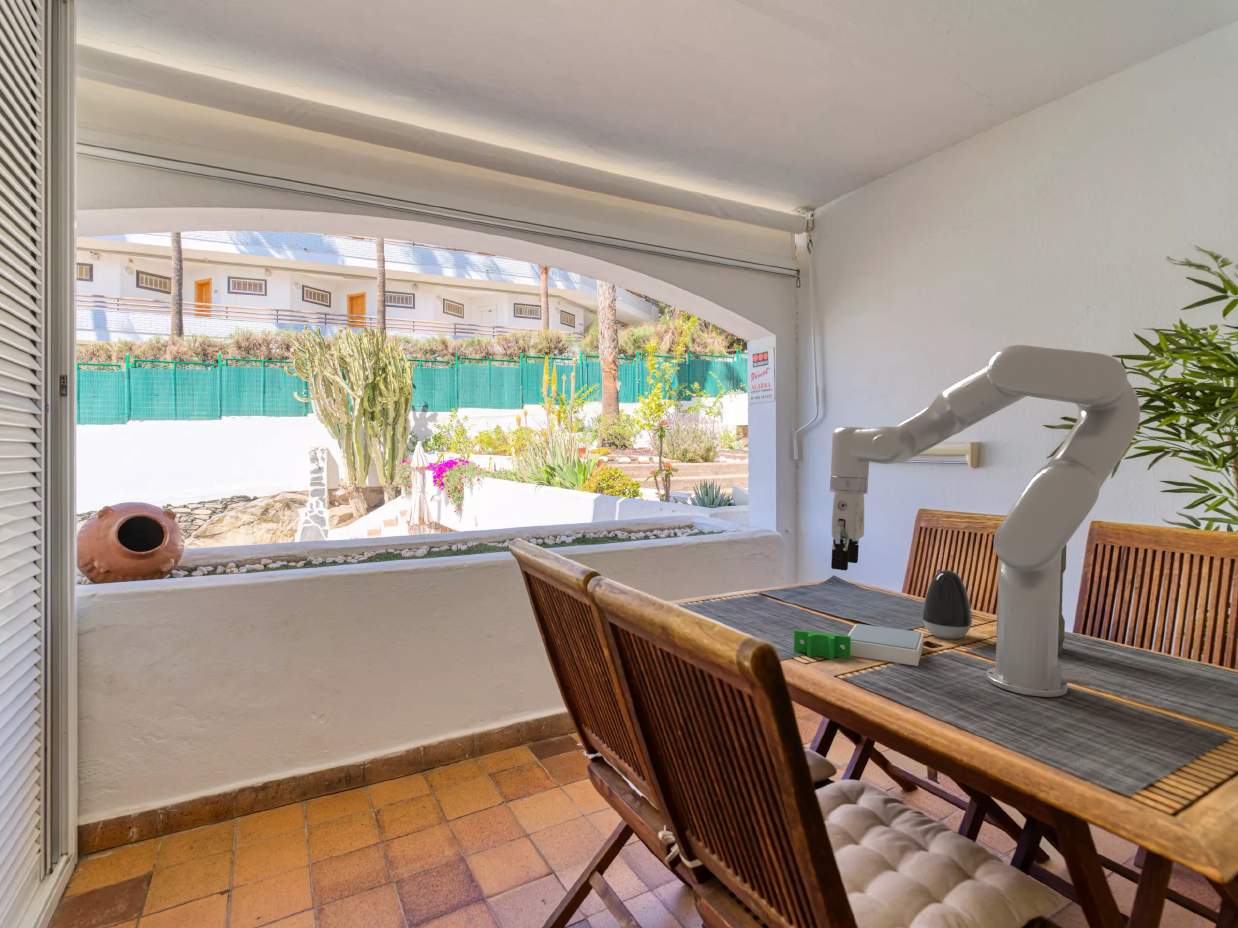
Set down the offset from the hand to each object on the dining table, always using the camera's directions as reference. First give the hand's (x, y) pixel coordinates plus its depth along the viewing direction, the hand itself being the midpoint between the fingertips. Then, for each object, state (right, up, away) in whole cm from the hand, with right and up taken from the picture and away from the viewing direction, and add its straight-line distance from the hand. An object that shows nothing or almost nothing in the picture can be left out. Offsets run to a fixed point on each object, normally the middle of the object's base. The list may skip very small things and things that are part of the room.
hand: (844, 565), depth 137 cm
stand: (+8, -18, 0) cm, 20 cm away
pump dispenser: (+27, -18, +11) cm, 35 cm away
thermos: (+43, -19, +3) cm, 47 cm away
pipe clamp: (-6, -19, -3) cm, 20 cm away
